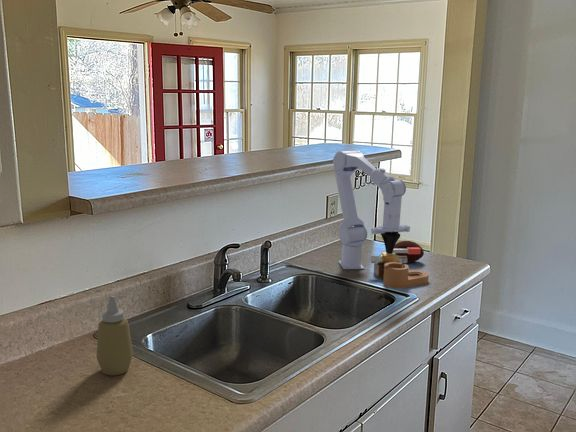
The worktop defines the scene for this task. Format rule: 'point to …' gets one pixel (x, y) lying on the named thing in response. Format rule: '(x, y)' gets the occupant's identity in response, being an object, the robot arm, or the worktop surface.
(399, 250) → the valve lever
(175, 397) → the worktop surface
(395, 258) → the brass valve
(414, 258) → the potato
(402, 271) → the bracket
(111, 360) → the squeeze bottle
